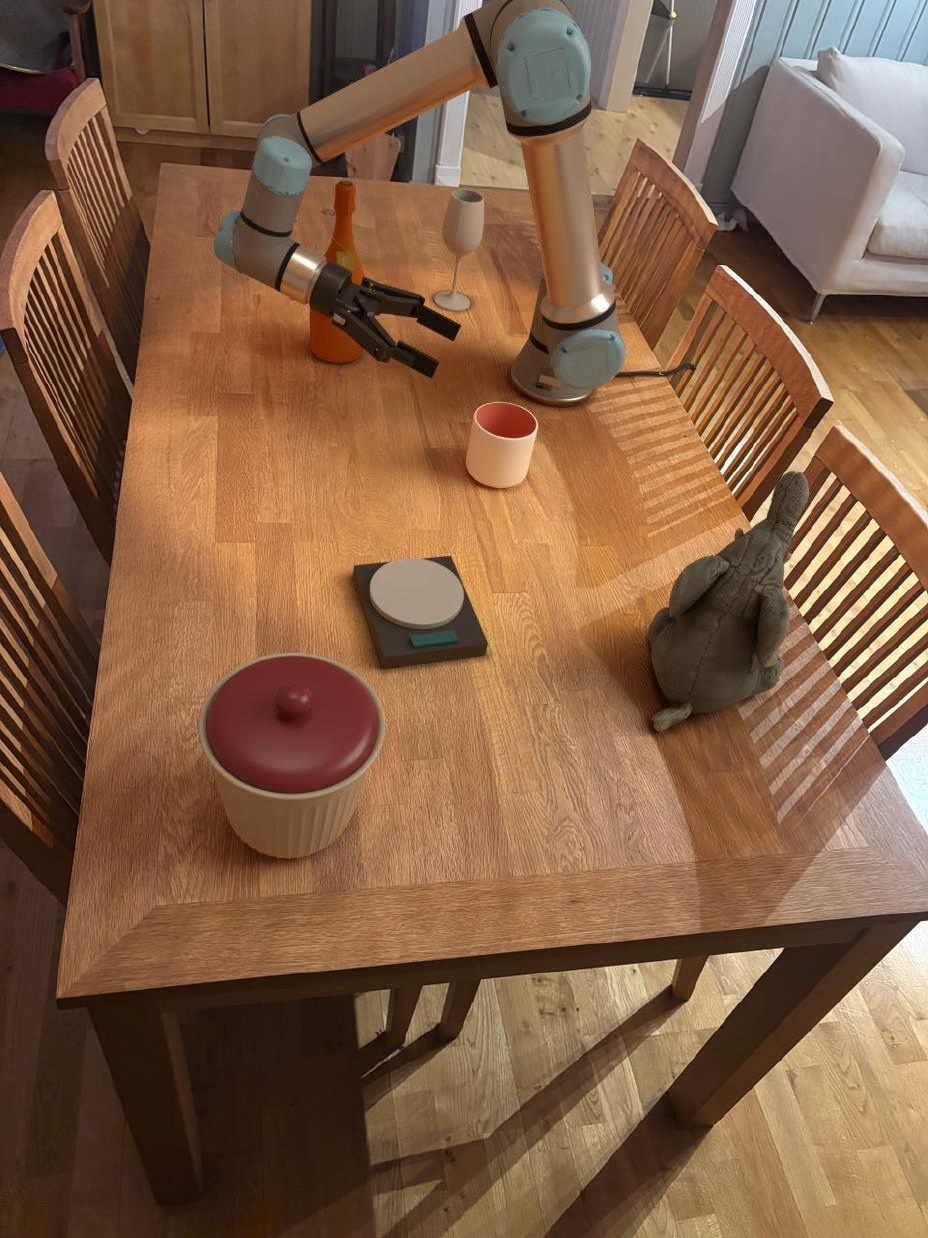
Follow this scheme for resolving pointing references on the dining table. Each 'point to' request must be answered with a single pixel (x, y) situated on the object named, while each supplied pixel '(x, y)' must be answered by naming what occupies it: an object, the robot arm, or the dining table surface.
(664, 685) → the stuffed elephant
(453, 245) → the wineglass
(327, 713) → the canister
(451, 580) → the scale
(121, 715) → the dining table surface
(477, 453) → the cup
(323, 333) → the wine bottle
